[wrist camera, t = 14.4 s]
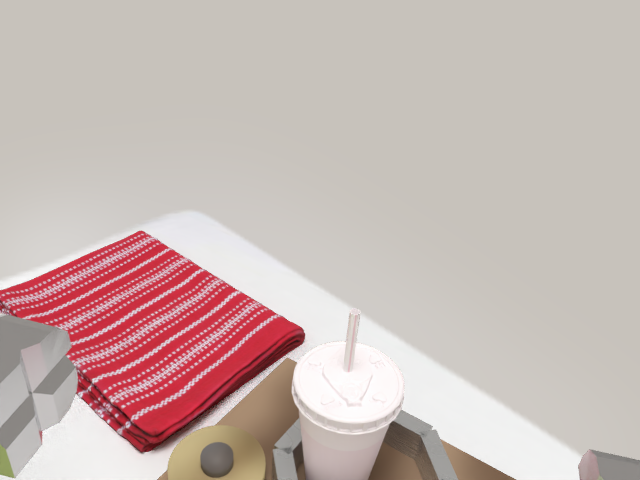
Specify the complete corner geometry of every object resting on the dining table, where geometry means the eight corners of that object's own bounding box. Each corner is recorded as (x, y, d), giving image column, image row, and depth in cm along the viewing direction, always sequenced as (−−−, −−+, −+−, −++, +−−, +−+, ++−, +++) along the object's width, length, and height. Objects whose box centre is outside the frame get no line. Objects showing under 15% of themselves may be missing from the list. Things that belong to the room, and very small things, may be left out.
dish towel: (150, 470, 41) (147, 444, 39) (-16, 313, 53) (-23, 289, 52) (312, 346, 52) (314, 323, 51) (145, 241, 64) (143, 219, 63)
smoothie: (373, 441, 42) (401, 280, 34) (393, 527, 37) (433, 359, 29) (281, 447, 41) (290, 282, 34) (289, 536, 36) (302, 364, 28)
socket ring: (239, 508, 37) (239, 482, 36) (334, 400, 45) (337, 376, 44) (397, 619, 32) (404, 594, 31) (472, 475, 40) (480, 451, 39)
